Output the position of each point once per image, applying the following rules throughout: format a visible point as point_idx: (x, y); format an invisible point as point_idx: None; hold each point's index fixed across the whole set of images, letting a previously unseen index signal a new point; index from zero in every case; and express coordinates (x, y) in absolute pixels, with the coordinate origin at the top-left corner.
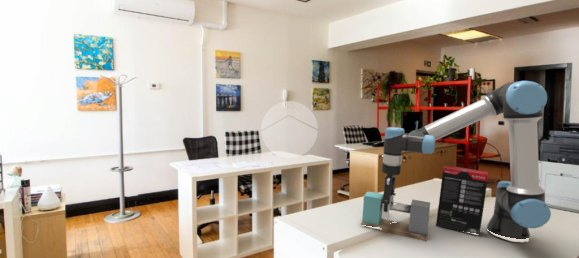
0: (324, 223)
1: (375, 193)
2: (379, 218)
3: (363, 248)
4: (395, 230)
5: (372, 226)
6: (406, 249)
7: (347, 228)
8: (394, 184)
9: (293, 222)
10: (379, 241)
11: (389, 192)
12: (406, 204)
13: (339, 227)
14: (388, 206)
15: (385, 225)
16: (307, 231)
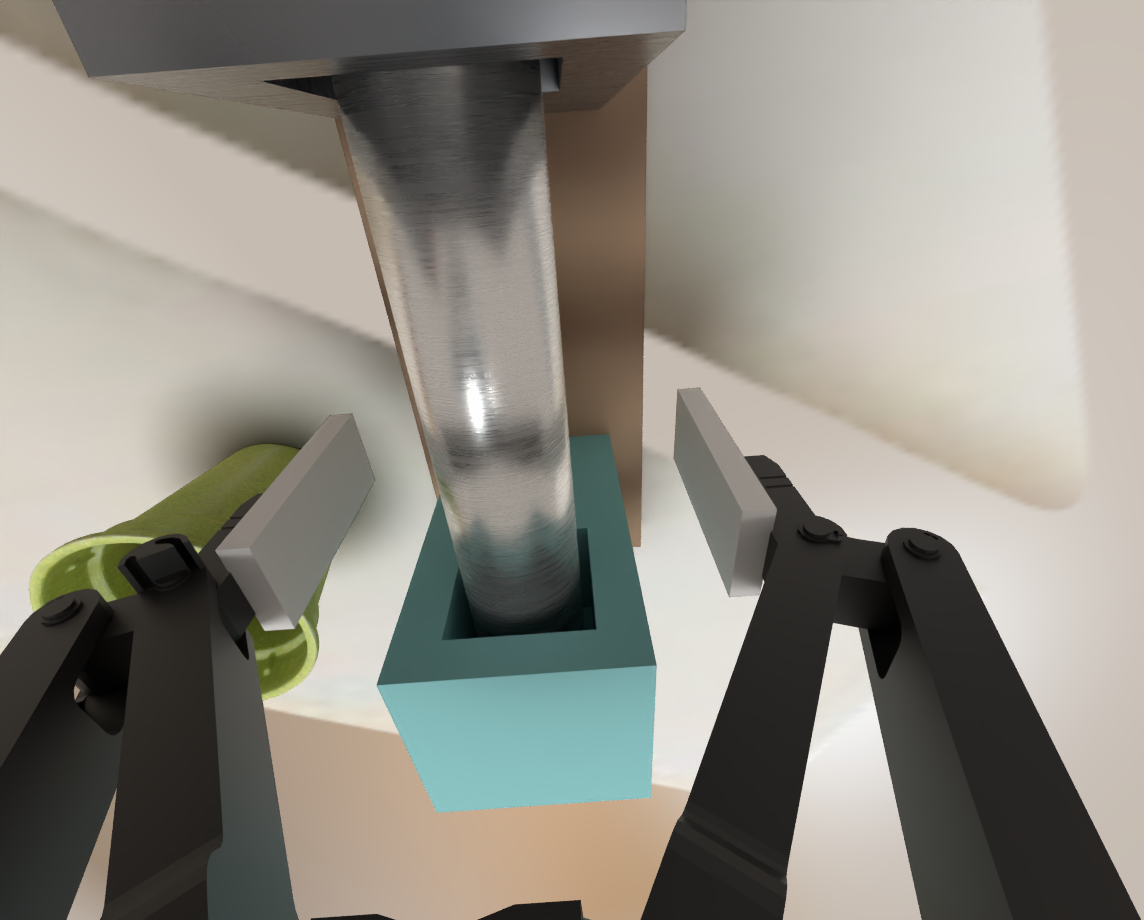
0: (710, 679)
1: (445, 750)
2: (588, 468)
3: (1016, 419)
4: (641, 266)
5: (641, 467)
6: (971, 61)
7: (719, 579)
8: (214, 912)
9: None
10: (859, 349)
11: (1067, 785)
12: (450, 221)
13: (727, 614)
14: (756, 496)
15: (569, 382)
16: (854, 695)
